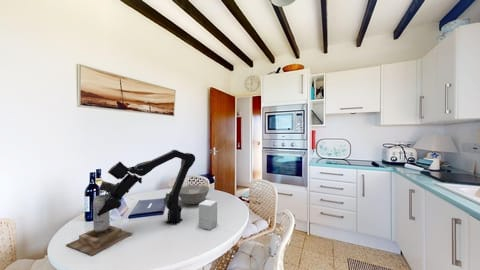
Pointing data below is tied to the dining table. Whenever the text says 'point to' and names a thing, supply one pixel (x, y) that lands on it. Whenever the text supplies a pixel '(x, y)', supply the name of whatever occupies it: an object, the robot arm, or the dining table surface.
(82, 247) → the socket board
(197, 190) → the ceramic bowl
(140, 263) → the dining table surface
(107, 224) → the energy drink can
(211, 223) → the supplement box
